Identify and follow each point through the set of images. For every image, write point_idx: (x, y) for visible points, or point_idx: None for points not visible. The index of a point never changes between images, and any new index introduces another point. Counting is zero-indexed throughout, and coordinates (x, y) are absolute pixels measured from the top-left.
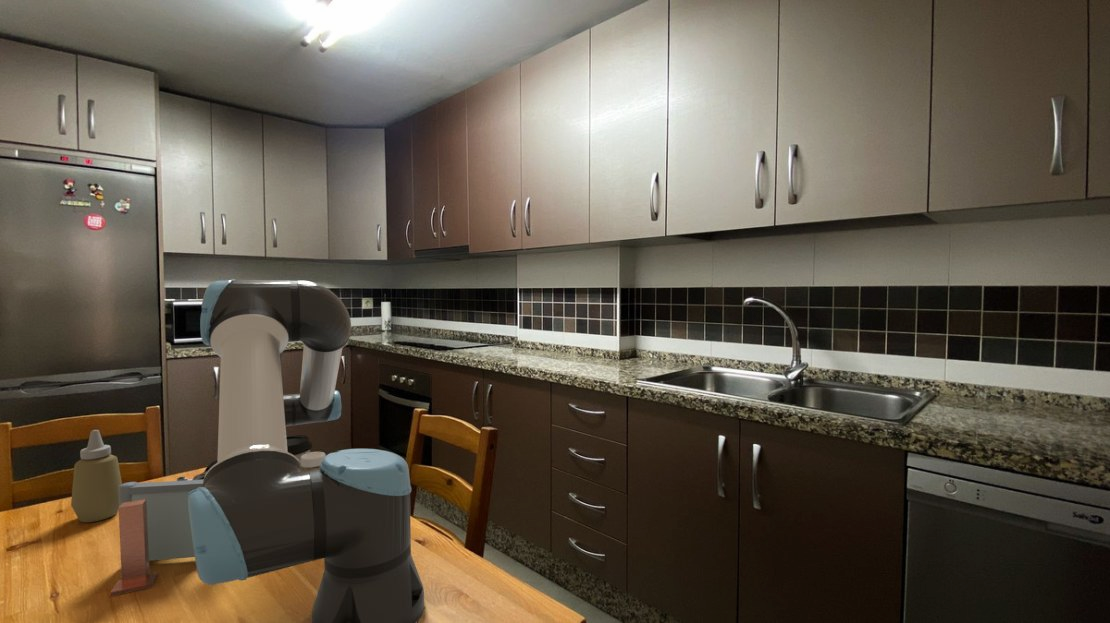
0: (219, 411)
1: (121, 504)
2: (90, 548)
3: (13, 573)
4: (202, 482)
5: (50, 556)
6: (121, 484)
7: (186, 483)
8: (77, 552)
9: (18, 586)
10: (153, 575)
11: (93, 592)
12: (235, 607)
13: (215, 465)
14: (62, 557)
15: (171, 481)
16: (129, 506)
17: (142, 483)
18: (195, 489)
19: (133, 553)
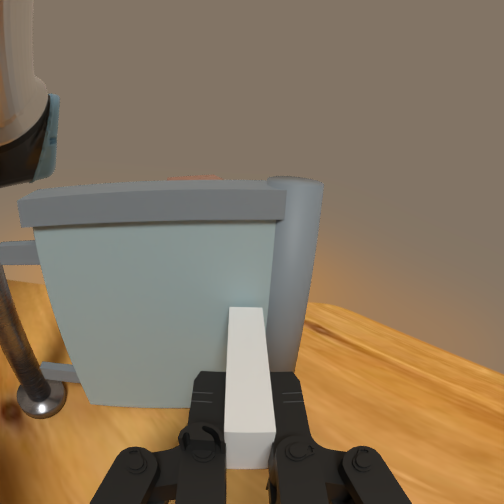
0: (32, 18)
1: (219, 178)
2: (454, 443)
3: (461, 360)
4: (37, 191)
5: (481, 402)
6: (319, 182)
7: (82, 187)
8: (458, 425)
9: (406, 340)
10: None
11: None
12: (39, 290)
13: (39, 79)
14: (459, 406)
15: (142, 190)
16: (192, 176)
17: (256, 188)
18: (54, 95)
19: None
